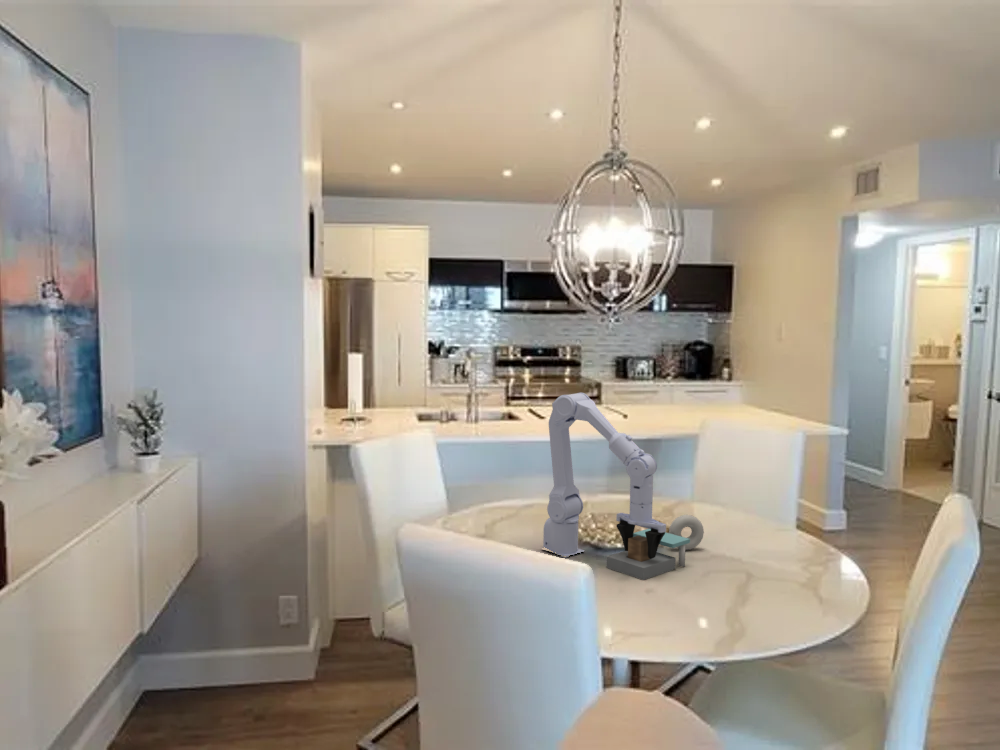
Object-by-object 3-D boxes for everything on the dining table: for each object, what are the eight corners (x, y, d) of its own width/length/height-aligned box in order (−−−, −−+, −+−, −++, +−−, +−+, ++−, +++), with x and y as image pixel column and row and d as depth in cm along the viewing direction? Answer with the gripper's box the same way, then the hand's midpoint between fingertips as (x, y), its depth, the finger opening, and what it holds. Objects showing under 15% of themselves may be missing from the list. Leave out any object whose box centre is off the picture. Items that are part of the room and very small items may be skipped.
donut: (670, 552, 207) (671, 516, 206) (666, 548, 210) (667, 513, 209) (705, 551, 208) (706, 515, 207) (700, 547, 211) (701, 512, 211)
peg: (627, 568, 192) (628, 538, 192) (637, 565, 195) (638, 535, 194) (640, 572, 189) (640, 541, 189) (649, 569, 192) (650, 539, 191)
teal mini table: (632, 558, 201) (632, 533, 200) (649, 553, 205) (650, 528, 205) (672, 571, 191) (672, 544, 190) (689, 565, 196) (690, 538, 195)
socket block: (606, 567, 193) (606, 556, 193) (638, 557, 201) (638, 546, 201) (643, 580, 184) (643, 568, 184) (675, 569, 192) (675, 557, 192)
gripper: (609, 499, 194) (608, 550, 195) (654, 509, 183) (653, 564, 184) (626, 495, 199) (625, 545, 200) (671, 505, 188) (670, 558, 189)
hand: (639, 553), depth 192 cm, fingers open, 7 cm apart
